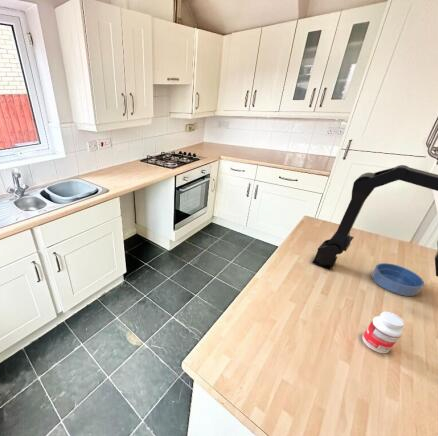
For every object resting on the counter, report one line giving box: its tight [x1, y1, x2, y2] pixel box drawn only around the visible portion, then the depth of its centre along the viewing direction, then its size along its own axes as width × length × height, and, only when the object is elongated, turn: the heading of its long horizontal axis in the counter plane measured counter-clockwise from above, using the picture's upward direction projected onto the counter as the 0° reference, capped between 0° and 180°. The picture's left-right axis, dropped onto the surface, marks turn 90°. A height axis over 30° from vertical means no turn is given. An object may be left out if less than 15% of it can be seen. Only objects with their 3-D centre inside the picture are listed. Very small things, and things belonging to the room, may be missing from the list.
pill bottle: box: [361, 311, 405, 354], centre depth 68 cm, size 6×6×11 cm
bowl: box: [370, 262, 425, 297], centre depth 91 cm, size 13×13×4 cm
